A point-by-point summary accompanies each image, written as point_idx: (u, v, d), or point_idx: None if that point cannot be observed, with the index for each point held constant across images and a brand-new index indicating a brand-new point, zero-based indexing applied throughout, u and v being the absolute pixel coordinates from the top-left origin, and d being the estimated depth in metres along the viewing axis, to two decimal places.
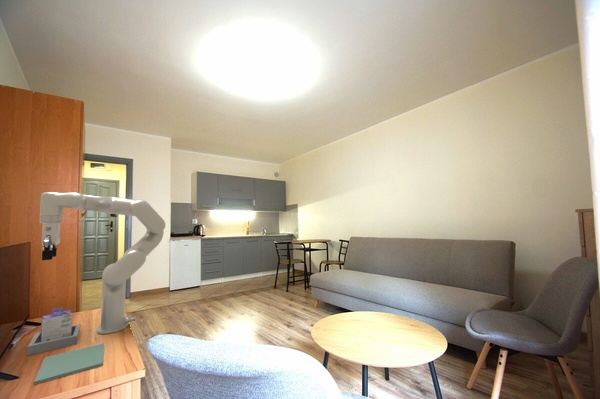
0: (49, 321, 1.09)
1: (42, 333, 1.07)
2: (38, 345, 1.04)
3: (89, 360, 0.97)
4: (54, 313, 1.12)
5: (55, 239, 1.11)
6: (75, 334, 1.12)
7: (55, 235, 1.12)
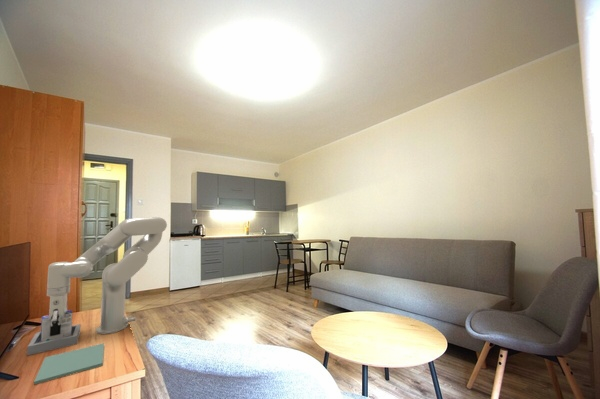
0: (49, 321, 1.09)
1: (42, 333, 1.07)
2: (38, 345, 1.04)
3: (89, 360, 0.97)
4: None
5: (63, 312, 1.10)
6: (75, 334, 1.12)
7: (63, 308, 1.10)
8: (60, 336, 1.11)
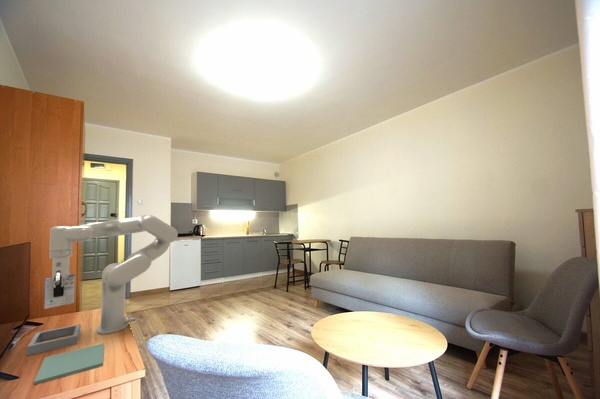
0: (52, 283, 1.10)
1: (45, 294, 1.09)
2: (38, 345, 1.04)
3: (89, 360, 0.97)
4: None
5: (65, 274, 1.11)
6: (75, 334, 1.12)
7: (65, 270, 1.12)
8: (63, 298, 1.13)
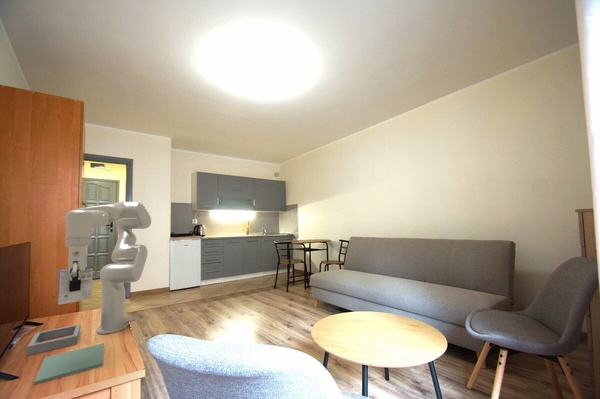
0: (67, 275, 0.95)
1: (60, 288, 0.94)
2: (38, 345, 1.04)
3: (89, 360, 0.97)
4: None
5: (83, 265, 0.97)
6: (75, 334, 1.12)
7: (83, 260, 0.97)
8: (80, 293, 0.98)
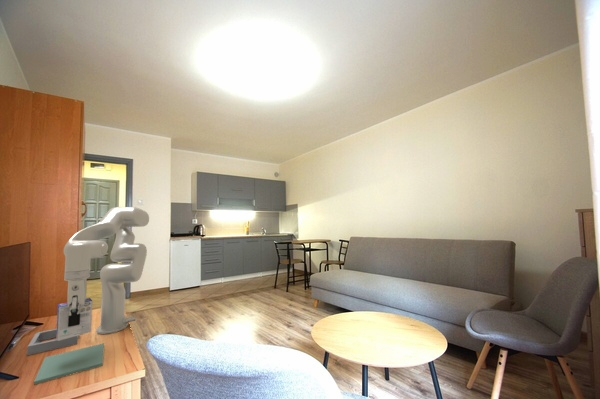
0: (66, 310, 0.94)
1: (59, 323, 0.92)
2: (38, 345, 1.04)
3: (89, 360, 0.97)
4: None
5: (82, 299, 0.96)
6: None
7: (82, 294, 0.96)
8: (79, 327, 0.96)
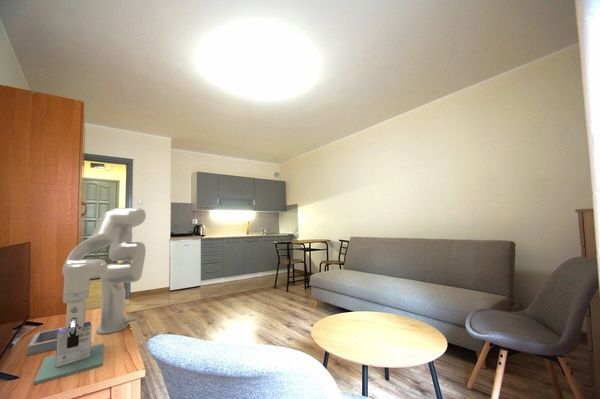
0: (65, 336, 0.94)
1: (57, 349, 0.92)
2: (38, 345, 1.04)
3: (89, 360, 0.97)
4: None
5: (82, 321, 0.95)
6: None
7: (82, 316, 0.95)
8: (78, 353, 0.96)
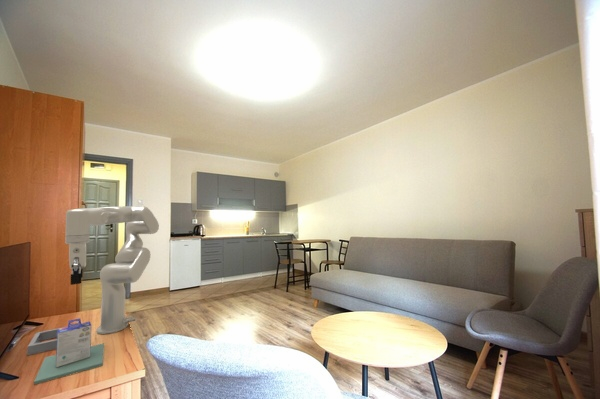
0: (65, 336, 0.94)
1: (57, 349, 0.92)
2: (38, 345, 1.04)
3: (89, 360, 0.97)
4: (71, 326, 0.97)
5: (84, 261, 1.02)
6: None
7: (83, 257, 1.02)
8: (78, 353, 0.96)
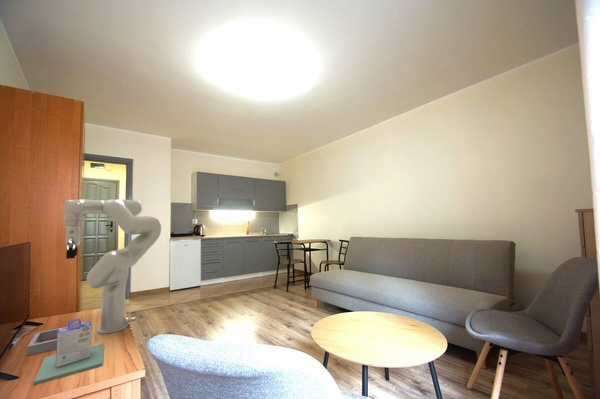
0: (65, 336, 0.94)
1: (57, 349, 0.92)
2: (38, 345, 1.04)
3: (89, 360, 0.97)
4: (71, 326, 0.97)
5: (77, 240, 1.29)
6: None
7: (77, 237, 1.29)
8: (78, 353, 0.96)
